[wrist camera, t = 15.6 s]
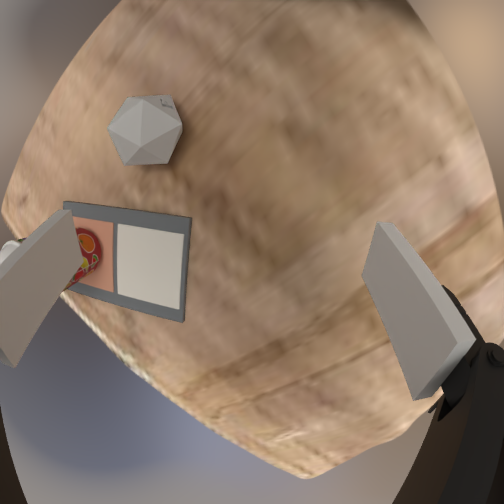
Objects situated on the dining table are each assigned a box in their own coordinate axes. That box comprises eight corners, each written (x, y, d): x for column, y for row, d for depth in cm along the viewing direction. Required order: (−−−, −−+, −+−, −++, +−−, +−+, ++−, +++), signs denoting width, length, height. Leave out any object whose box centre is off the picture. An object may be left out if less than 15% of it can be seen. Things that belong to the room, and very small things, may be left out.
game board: (66, 200, 37) (62, 201, 36) (192, 217, 35) (189, 218, 34) (69, 287, 40) (65, 289, 40) (184, 320, 38) (182, 323, 37)
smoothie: (68, 269, 39) (-31, 319, 19) (68, 216, 36) (-44, 247, 17) (108, 283, 38) (6, 349, 19) (110, 225, 36) (-11, 267, 16)
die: (192, 169, 34) (195, 114, 25) (124, 190, 31) (106, 139, 22) (174, 123, 36) (174, 68, 27) (113, 141, 33) (99, 88, 24)
